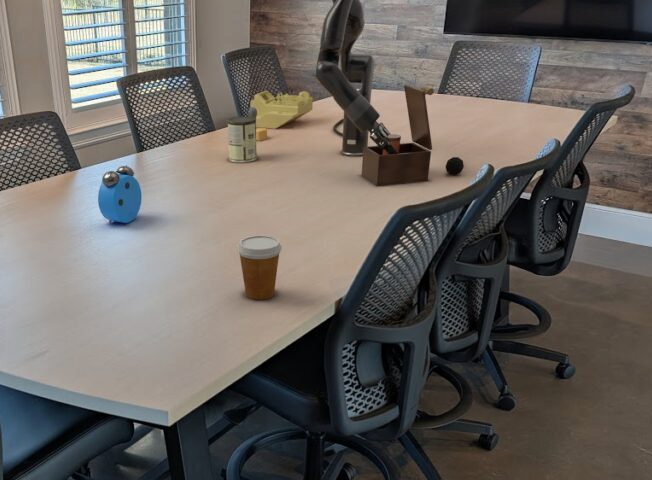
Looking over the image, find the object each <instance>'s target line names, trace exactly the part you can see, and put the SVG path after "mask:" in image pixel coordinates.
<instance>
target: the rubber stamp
mask: <svg viewBox="0 0 652 480" xmlns="http://www.w3.org/2000/svg"><path fill="white" fill-rule="evenodd" d="M248 116H249V117H254V118H256V116H257V110H256V108H254V107H251V106H250V108H248ZM266 139H268V128H262V127H256V142H257V141H258V142H259V141H263V140H266Z"/></svg>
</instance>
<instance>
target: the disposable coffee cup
mask: <svg viewBox="0 0 652 480" xmlns="http://www.w3.org/2000/svg"><path fill="white" fill-rule="evenodd" d="M282 247H283V246H282V245H281V242H280V240H279V239H278V238H276V237H273V236H270V235H251V236H245V237H244V238H242V239H240V240H239V242H238V246H237V248H236V250H237V252H238V255H239V258H240V259H239V260H240V267H241V272H242V278H243V283H244V284H243V285H244V291H245V296H246V297H247V298H249V299H252V300H256V301H257V300H267V299H271V298H272V297H274V295H275V288H276V281H277V273H278V267H279V259H280V253H281V251H282Z"/></svg>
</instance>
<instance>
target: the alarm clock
mask: <svg viewBox="0 0 652 480" xmlns="http://www.w3.org/2000/svg"><path fill="white" fill-rule="evenodd" d="M134 176H135V171H134V169H132V168H131V167H130V166H128V165H127V164H126V165H121V166H119V167H118V168H116V170H115V171H114V170H109V171H106V172H105V173H104V174H103V175H102V178H101V183H100V185H99V188H98V194H97V202H98V208H99V212H100V214H101V215H102V217H103V218H105V219H106V220H108V222H109V225H111V223H112V222H116V223H123V224H129V223H131V222H132V221H134V220H135V219H136V217H137V216H138V214H139V212H140V209H141V205H142V189H141V188H142V187H141V185H140V183H139V181H138V180H137V178H136V177H134Z"/></svg>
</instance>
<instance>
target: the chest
mask: <svg viewBox="0 0 652 480" xmlns="http://www.w3.org/2000/svg"><path fill="white" fill-rule="evenodd" d="M382 154H383V150H382V149H380V147H379V146H378V145H371V146H369V145H368V147H363V155H362V161H361V162H362V163H361V177H363V178H365V180H367V181H369V182H370V183H371V184H373V185H375V186H376V187H380V186H390V185H402V184H411V183H422V182H423V183H424V182H429V175H430V165H431V156H432V150H429V149H427V148H425V147H423V146H421V145H419V144H417V143H415V142H403V143H401V142H400V150H399V154H390V155H382Z"/></svg>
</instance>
